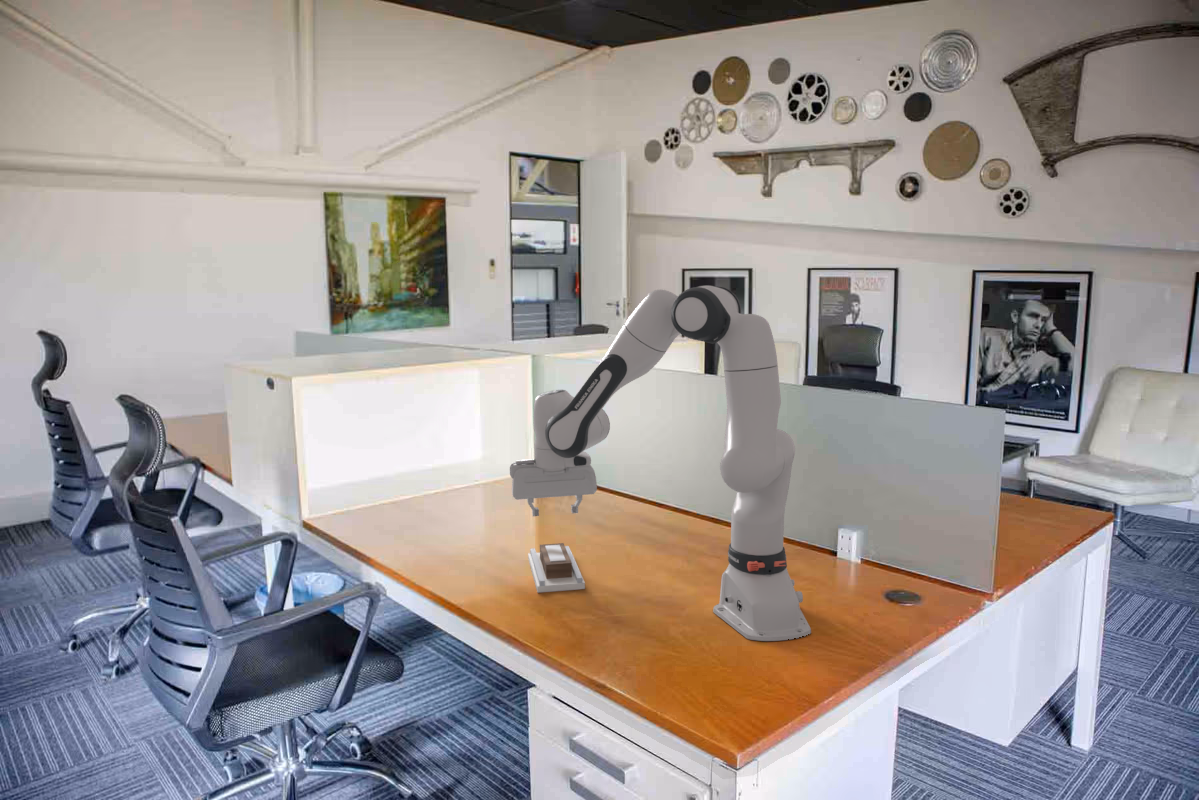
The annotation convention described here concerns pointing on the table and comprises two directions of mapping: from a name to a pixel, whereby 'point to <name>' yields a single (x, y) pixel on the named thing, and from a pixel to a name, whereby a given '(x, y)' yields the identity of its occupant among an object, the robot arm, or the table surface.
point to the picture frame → (555, 561)
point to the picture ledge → (556, 583)
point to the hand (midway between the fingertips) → (555, 514)
